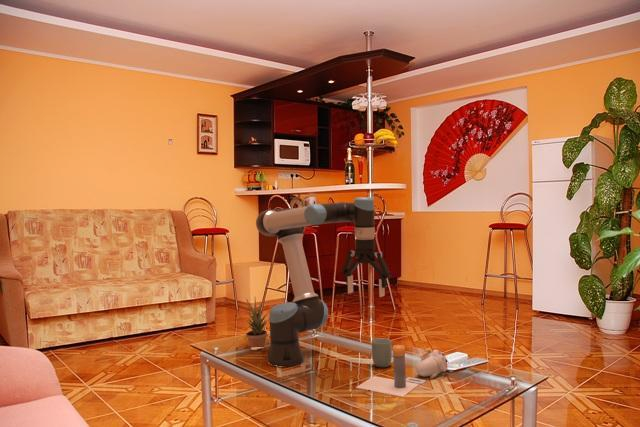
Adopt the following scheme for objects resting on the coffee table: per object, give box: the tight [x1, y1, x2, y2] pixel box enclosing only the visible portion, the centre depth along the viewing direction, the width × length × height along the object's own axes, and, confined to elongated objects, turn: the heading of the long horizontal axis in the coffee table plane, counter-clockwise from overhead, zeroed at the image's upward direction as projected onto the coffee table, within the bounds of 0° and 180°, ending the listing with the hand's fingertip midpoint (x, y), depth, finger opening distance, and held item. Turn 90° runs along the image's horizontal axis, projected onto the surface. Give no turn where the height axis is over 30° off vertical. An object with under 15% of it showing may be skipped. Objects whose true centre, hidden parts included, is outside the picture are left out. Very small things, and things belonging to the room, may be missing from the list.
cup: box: [371, 337, 393, 368], centre depth 208 cm, size 8×8×10 cm
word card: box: [406, 376, 427, 385], centre depth 191 cm, size 7×4×1 cm, turn 56°
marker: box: [392, 344, 407, 388], centre depth 185 cm, size 4×4×14 cm
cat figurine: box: [415, 349, 449, 379], centre depth 197 cm, size 10×8×15 cm
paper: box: [355, 375, 420, 398], centre depth 186 cm, size 18×13×1 cm
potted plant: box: [245, 297, 268, 348], centre depth 239 cm, size 10×10×25 cm
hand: (366, 294), depth 201 cm, fingers open, 13 cm apart
